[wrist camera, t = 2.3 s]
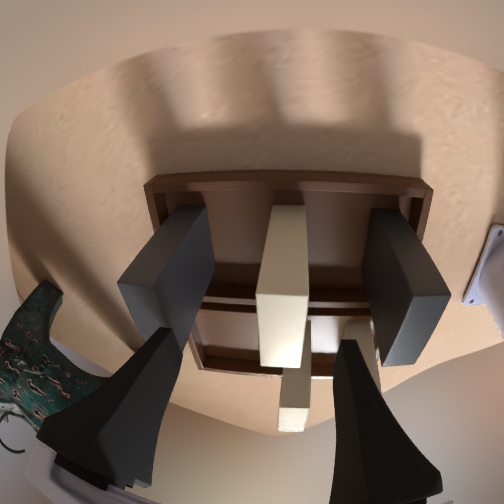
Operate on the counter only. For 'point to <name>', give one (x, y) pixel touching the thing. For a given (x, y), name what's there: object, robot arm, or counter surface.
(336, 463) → the robot arm
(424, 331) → the charcoal book
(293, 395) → the cream book
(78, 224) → the counter surface
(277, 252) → the cream book
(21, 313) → the green mottled arch
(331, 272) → the dark wooden tray
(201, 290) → the charcoal book
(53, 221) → the counter surface
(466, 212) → the counter surface
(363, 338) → the cream book
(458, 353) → the counter surface
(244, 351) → the shallow brown tray
